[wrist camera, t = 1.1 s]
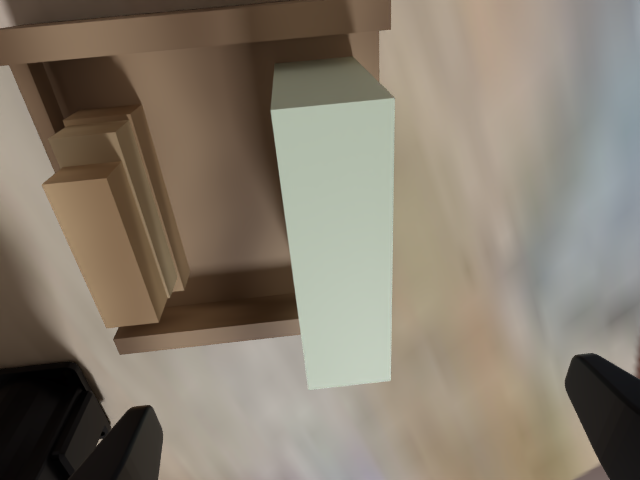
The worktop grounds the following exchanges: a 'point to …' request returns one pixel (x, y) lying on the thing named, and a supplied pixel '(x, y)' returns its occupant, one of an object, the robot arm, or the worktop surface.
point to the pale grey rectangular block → (338, 214)
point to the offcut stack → (117, 213)
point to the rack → (200, 138)
